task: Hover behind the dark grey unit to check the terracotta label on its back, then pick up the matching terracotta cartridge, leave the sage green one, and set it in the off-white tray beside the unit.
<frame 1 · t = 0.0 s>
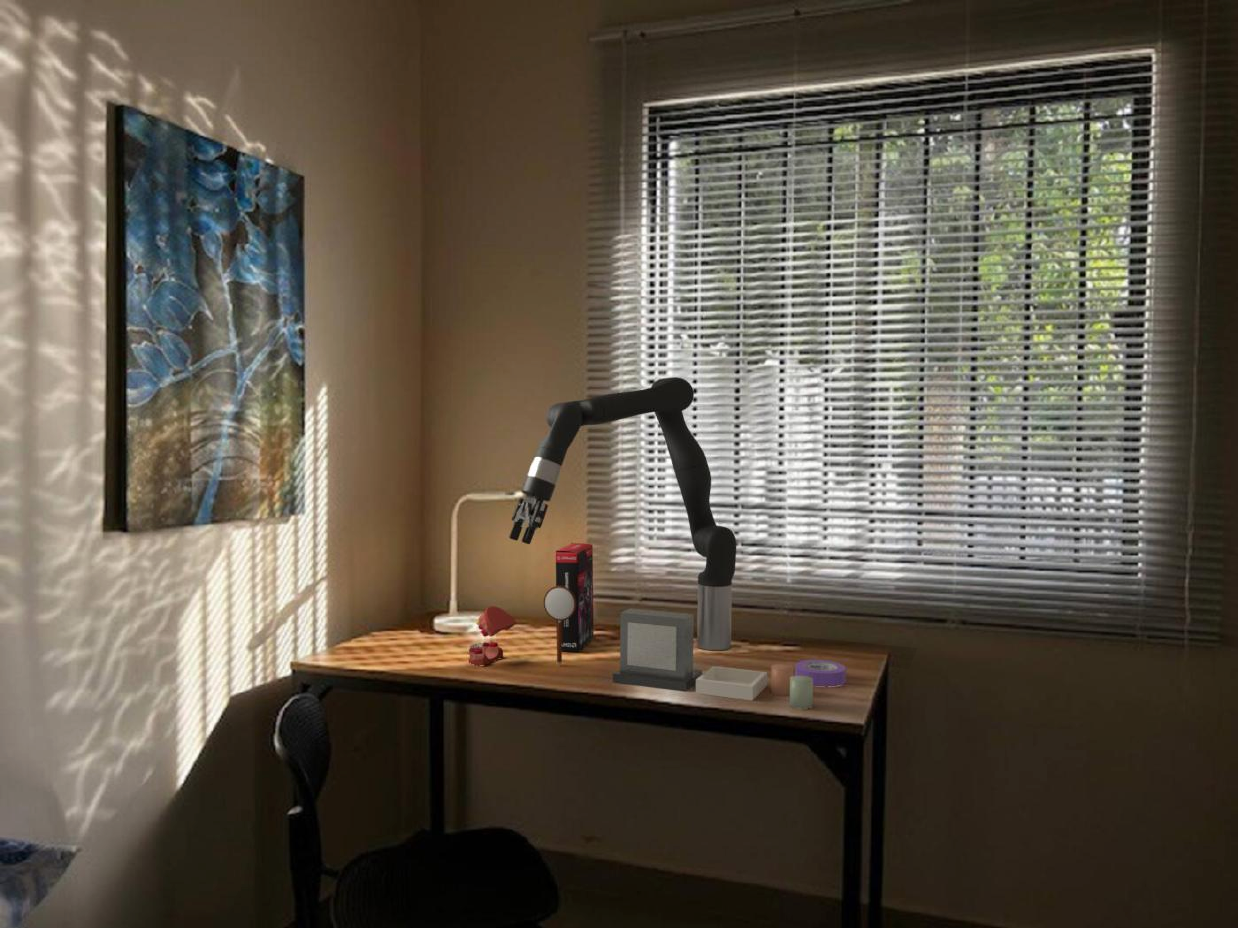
hand: (519, 541, 220), 31 cm above the table, tool tilted 20°, fingers open, 8 cm apart
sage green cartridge: (801, 706, 193), on the table
masking tape: (820, 682, 213), on the table
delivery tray: (731, 689, 205), on the table
terracotta cartridge: (781, 693, 203), on the table
magnifying glass: (559, 666, 225), on the table
graphics card box: (574, 646, 246), on the table
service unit: (657, 680, 212), on the table
anatomical model: (488, 662, 228), on the table
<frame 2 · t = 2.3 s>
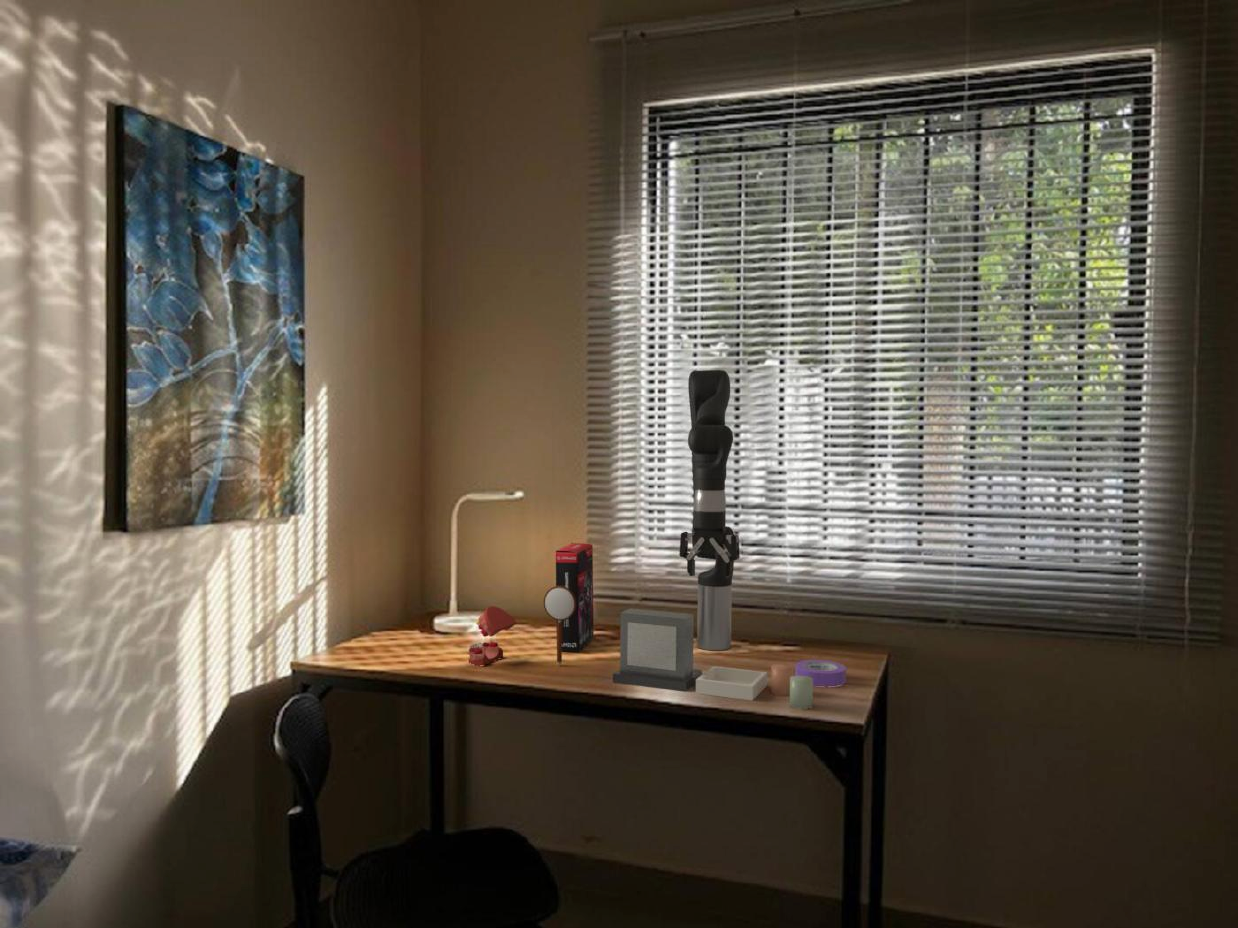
hand: (709, 576, 215), 24 cm above the table, tool pointing down, fingers open, 8 cm apart
nothing on the table moved.
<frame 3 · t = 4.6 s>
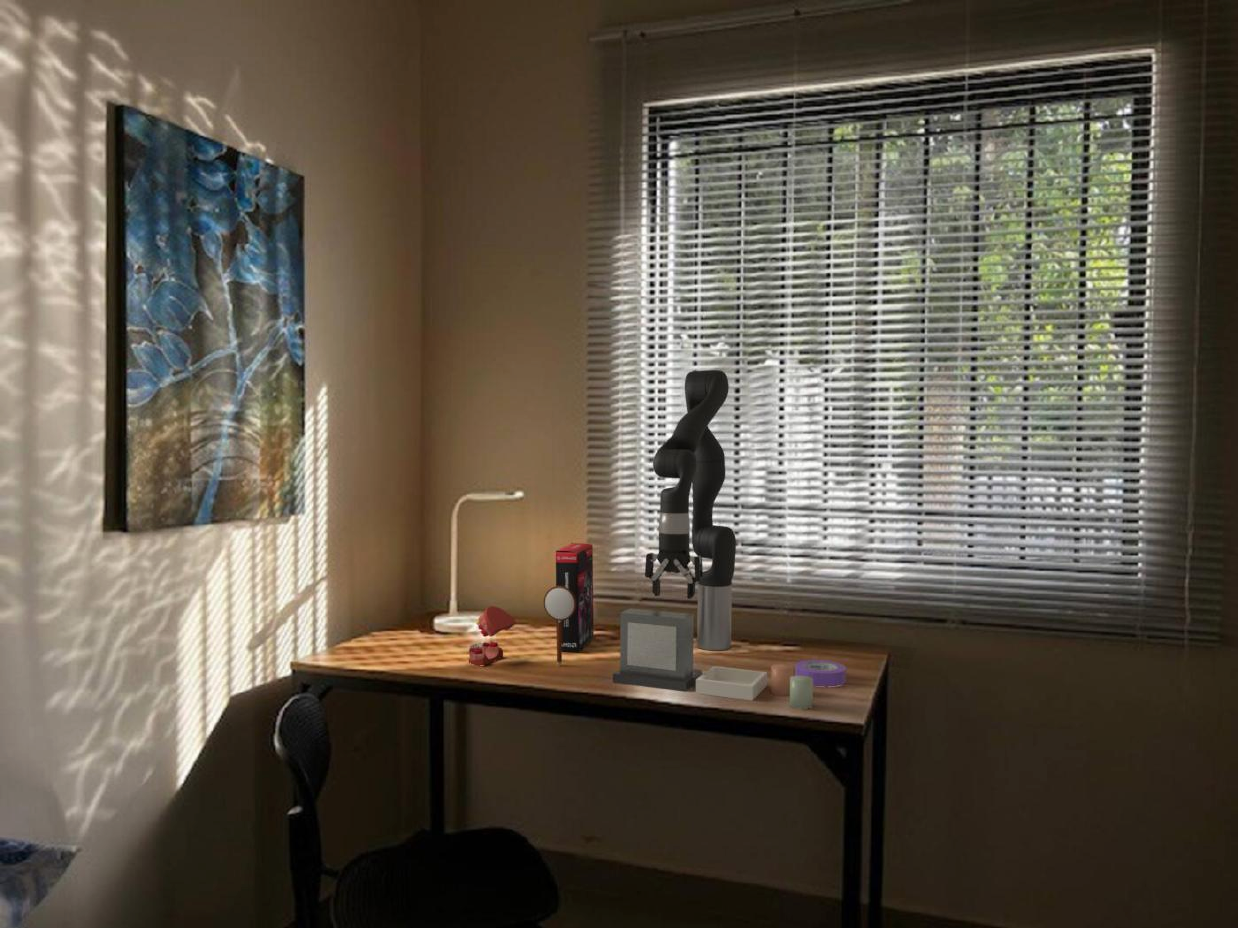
hand: (673, 596, 221), 18 cm above the table, tool pointing down, fingers open, 8 cm apart
nothing on the table moved.
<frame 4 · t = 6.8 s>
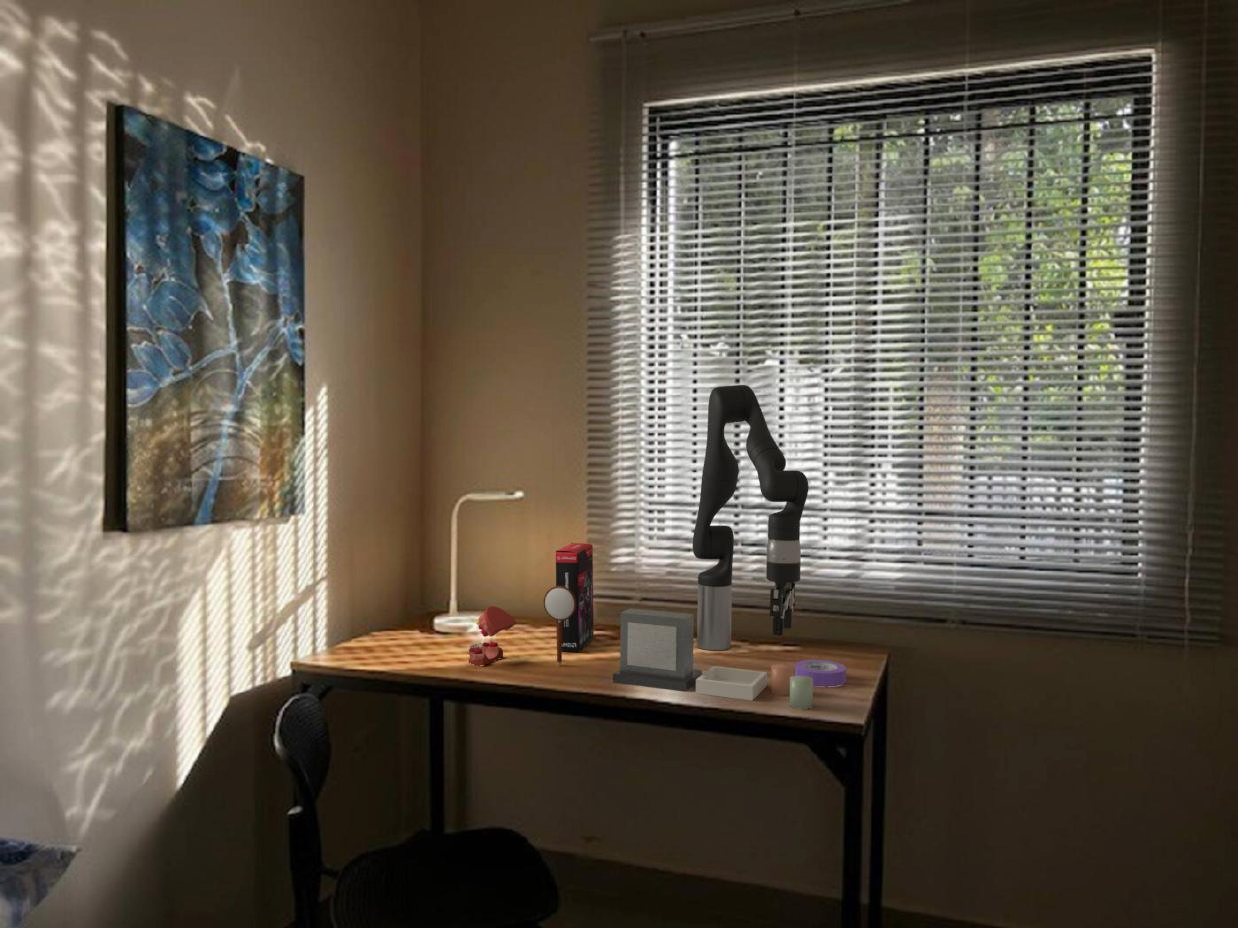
hand: (782, 631, 202), 14 cm above the table, tool pointing down, fingers open, 8 cm apart
nothing on the table moved.
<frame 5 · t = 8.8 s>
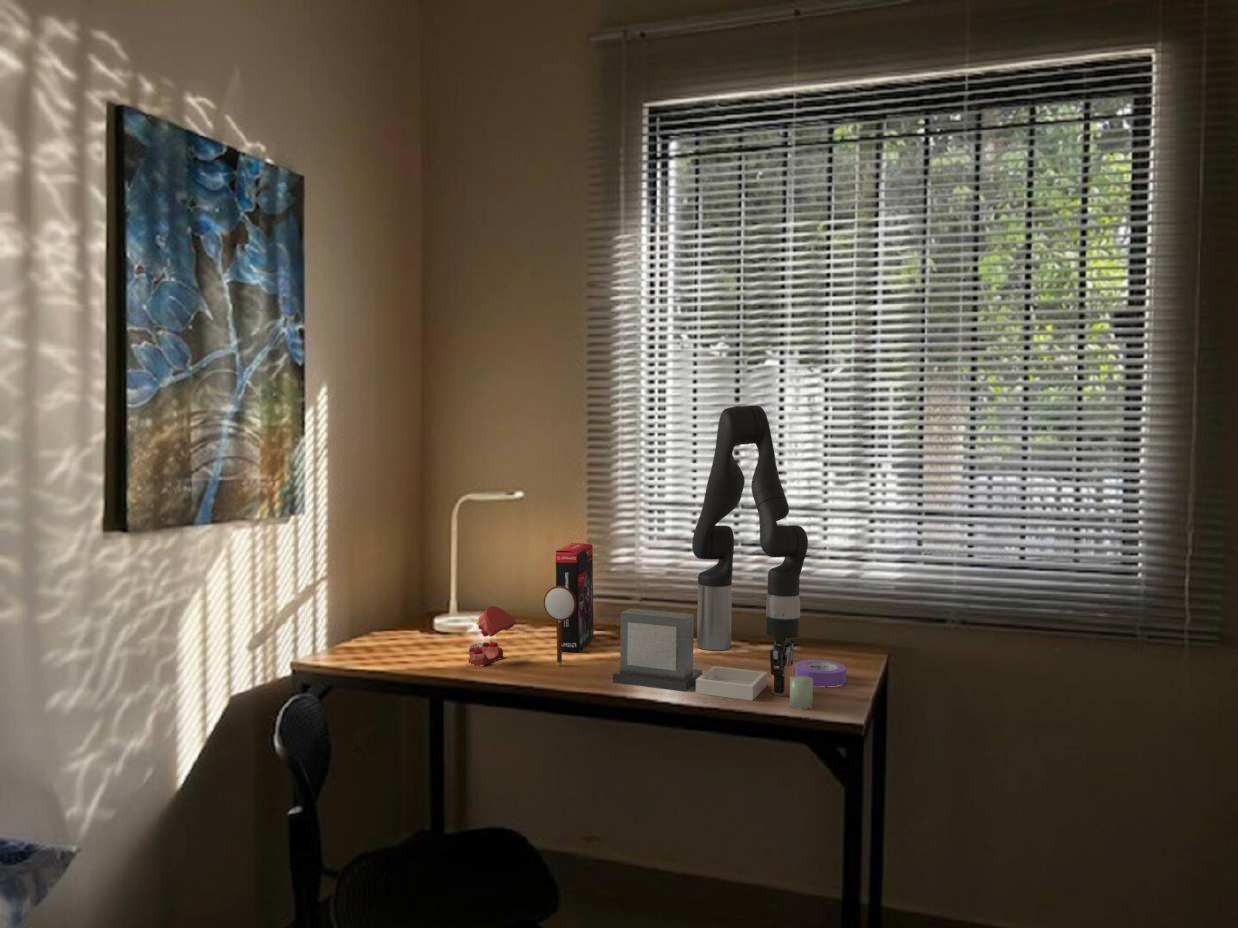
hand: (781, 689, 202), 1 cm above the table, tool pointing down, fingers closed on terracotta cartridge, 4 cm apart
terracotta cartridge: (781, 693, 202), on the table, touching gripper
everything else where it was.
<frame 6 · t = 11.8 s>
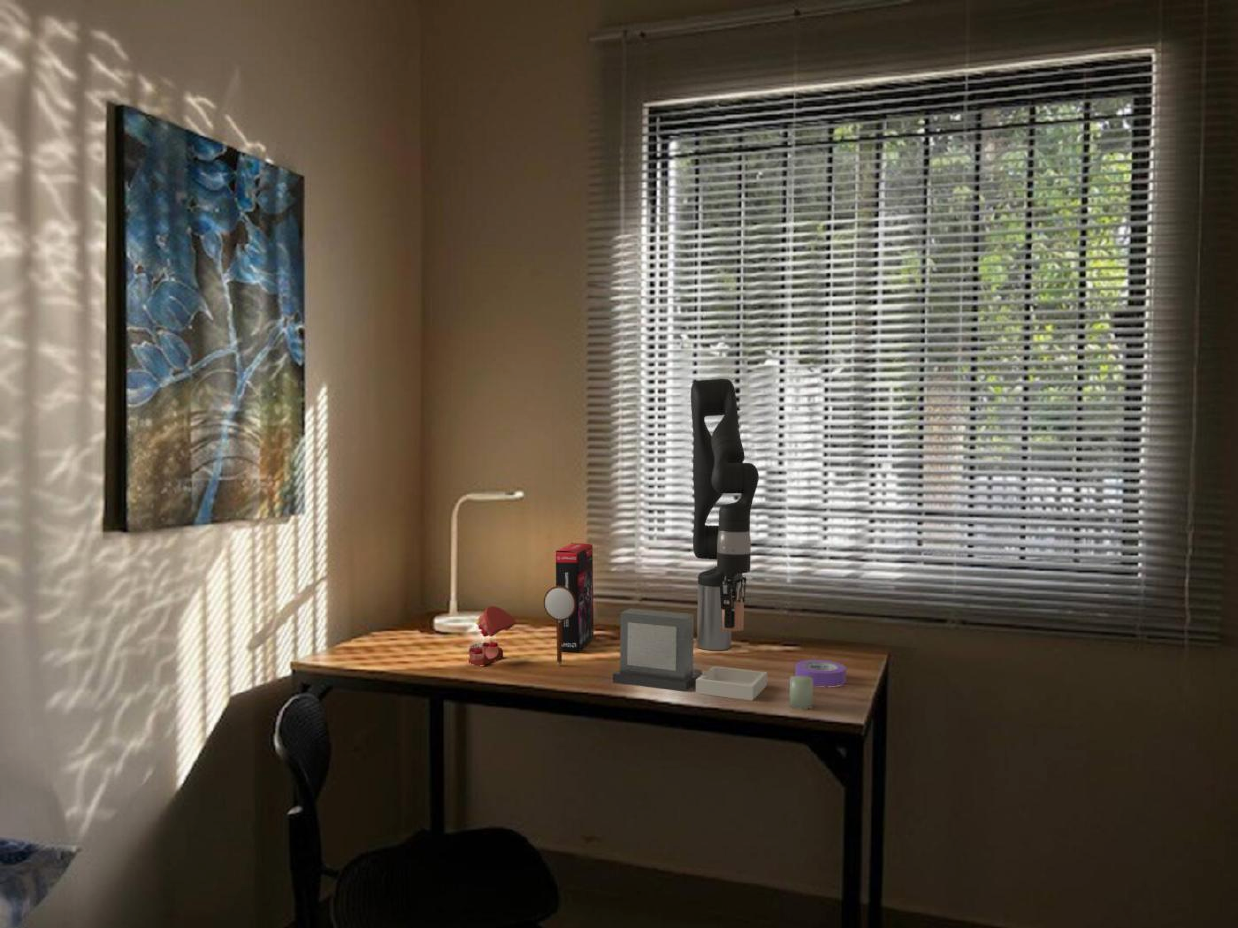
hand: (732, 625, 205), 15 cm above the table, tool pointing down, fingers closed on terracotta cartridge, 4 cm apart
terracotta cartridge: (732, 628, 205), point 14 cm above the table, touching gripper
everything else where it was.
when the fingers open (3 cm above the table, at t = 14.7 s): terracotta cartridge drops 1 cm, resting on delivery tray.
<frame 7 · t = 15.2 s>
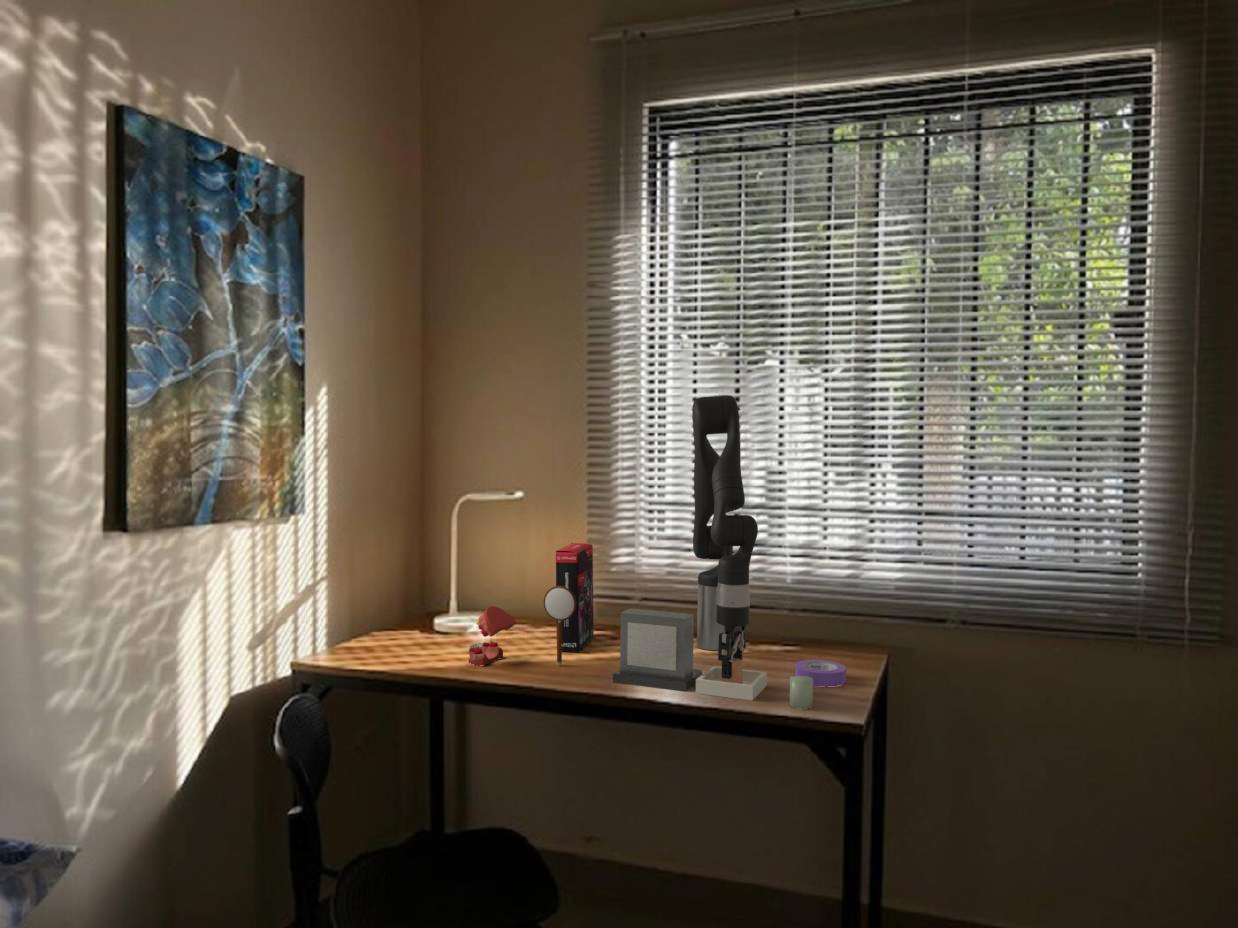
hand: (732, 673, 205), 4 cm above the table, tool pointing down, fingers open, 8 cm apart
terracotta cartridge: (732, 686, 205), point 1 cm above the table, touching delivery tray
everything else where it was.
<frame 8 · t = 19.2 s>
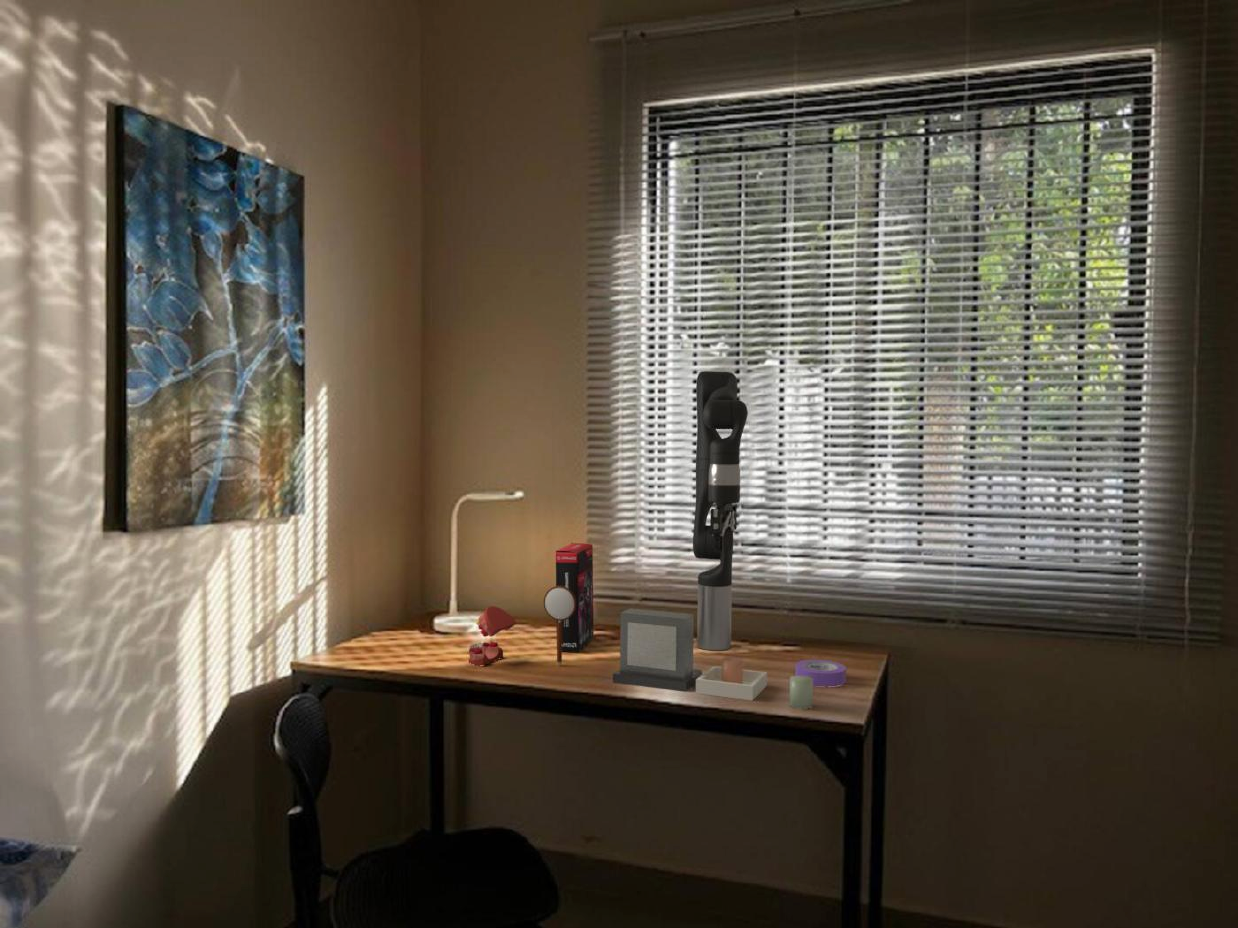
hand: (723, 550, 217), 30 cm above the table, tool pointing down, fingers open, 8 cm apart
nothing on the table moved.
at the end: terracotta cartridge inside the target area on the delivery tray (0.1 cm from its centre), point 0.6 cm above the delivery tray's base; terracotta cartridge tilted 0°; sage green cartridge moved 0.1 cm from its start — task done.
